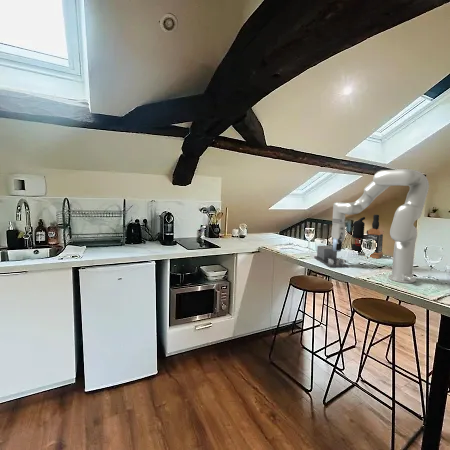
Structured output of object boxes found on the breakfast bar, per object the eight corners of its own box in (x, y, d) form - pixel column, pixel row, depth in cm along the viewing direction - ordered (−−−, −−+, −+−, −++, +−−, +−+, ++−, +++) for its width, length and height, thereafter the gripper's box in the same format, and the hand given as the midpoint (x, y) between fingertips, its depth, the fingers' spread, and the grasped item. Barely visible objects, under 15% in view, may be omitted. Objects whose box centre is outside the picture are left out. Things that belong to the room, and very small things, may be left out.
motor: (348, 267, 178) (348, 253, 177) (329, 267, 177) (330, 253, 176) (328, 257, 206) (329, 244, 205) (312, 257, 206) (313, 244, 205)
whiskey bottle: (369, 254, 216) (371, 214, 212) (382, 256, 209) (386, 214, 205) (363, 256, 209) (366, 214, 205) (377, 259, 202) (381, 215, 198)
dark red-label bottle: (367, 255, 213) (370, 216, 209) (357, 256, 210) (360, 217, 207) (354, 251, 226) (356, 215, 222) (345, 252, 223) (347, 215, 220)
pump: (342, 251, 178) (343, 238, 177) (334, 251, 178) (335, 238, 177) (338, 249, 183) (339, 236, 182) (331, 249, 183) (331, 236, 181)
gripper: (351, 223, 170) (348, 251, 172) (337, 220, 187) (336, 246, 189) (339, 222, 169) (337, 251, 171) (327, 220, 186) (325, 246, 188)
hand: (336, 248), depth 180 cm, fingers closed on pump, 5 cm apart
